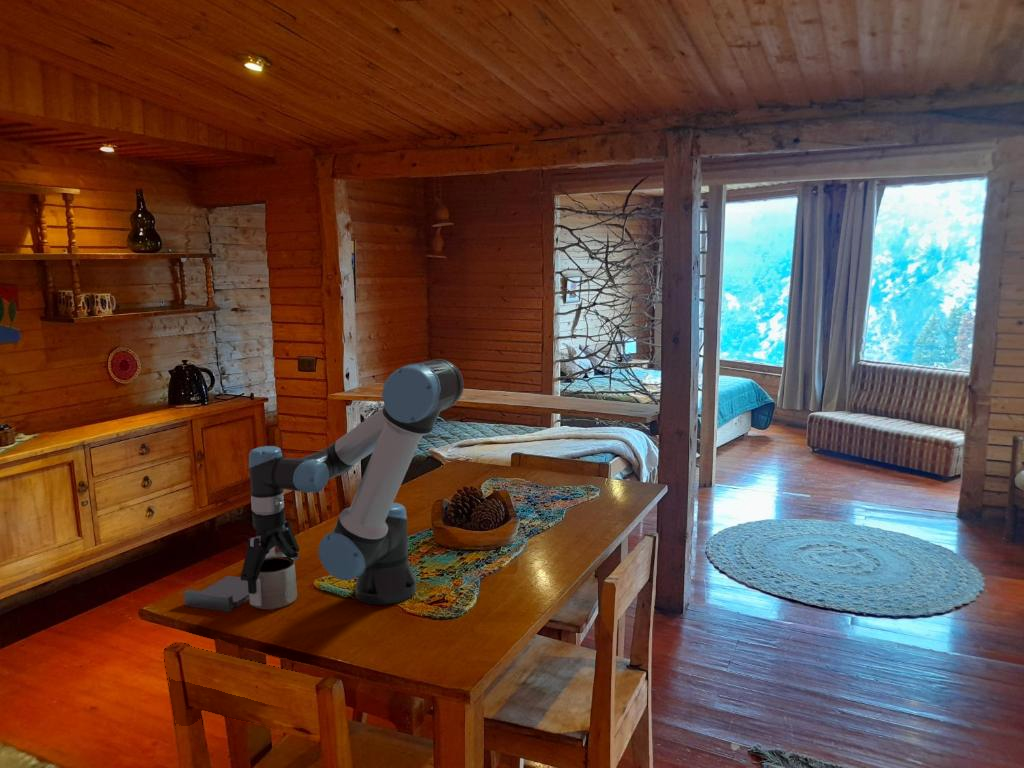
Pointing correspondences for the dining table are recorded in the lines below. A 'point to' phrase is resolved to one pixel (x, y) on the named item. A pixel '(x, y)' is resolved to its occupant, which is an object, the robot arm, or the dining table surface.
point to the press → (220, 594)
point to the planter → (277, 583)
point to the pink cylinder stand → (275, 553)
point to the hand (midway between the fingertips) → (273, 593)
